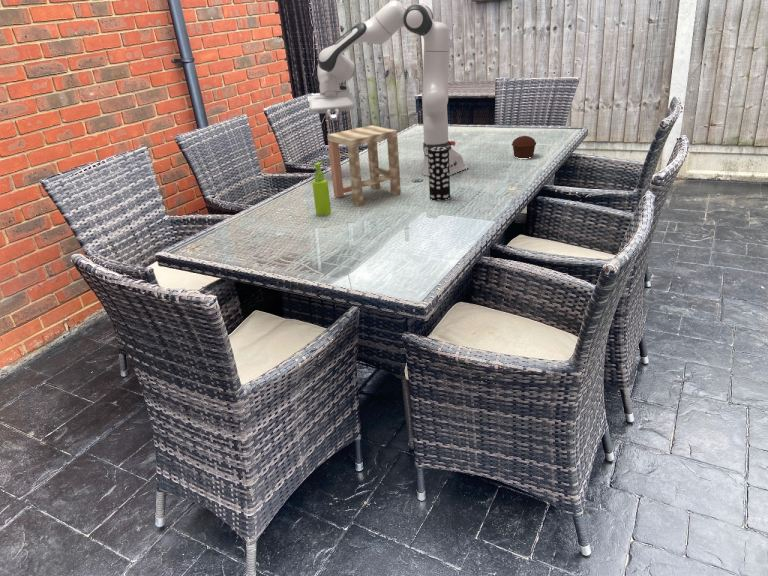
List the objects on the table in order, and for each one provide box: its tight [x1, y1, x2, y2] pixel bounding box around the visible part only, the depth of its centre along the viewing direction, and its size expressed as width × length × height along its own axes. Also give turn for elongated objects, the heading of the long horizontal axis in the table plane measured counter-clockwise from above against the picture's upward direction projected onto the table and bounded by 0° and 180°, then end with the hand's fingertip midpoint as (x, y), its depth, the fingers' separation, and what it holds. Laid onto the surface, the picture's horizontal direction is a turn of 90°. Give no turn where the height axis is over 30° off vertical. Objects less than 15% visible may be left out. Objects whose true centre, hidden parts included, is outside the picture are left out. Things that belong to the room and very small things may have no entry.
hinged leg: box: [327, 141, 352, 199], centre depth 246 cm, size 13×3×23 cm, turn 126°
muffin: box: [511, 135, 537, 158], centre depth 284 cm, size 12×11×10 cm
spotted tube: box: [428, 146, 451, 201], centre depth 234 cm, size 8×8×20 cm
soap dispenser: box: [311, 161, 332, 217], centre depth 228 cm, size 6×7×20 cm
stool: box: [326, 125, 402, 207], centre depth 242 cm, size 22×18×26 cm
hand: (333, 119), depth 260 cm, fingers closed
